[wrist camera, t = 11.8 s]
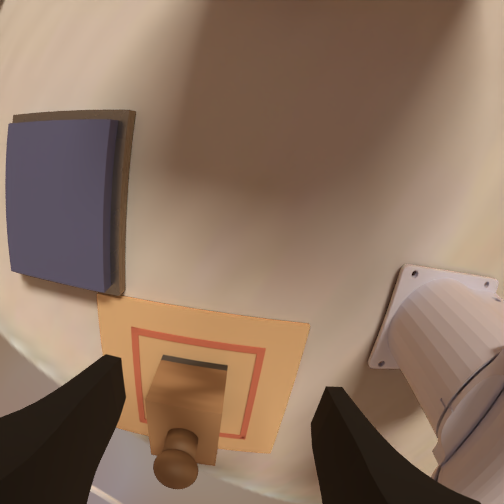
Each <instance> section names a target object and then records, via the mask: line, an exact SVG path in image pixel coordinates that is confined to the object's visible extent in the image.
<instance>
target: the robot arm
mask: <svg viewBox="0 0 504 504" xmlns="http://www.w3.org/2000/svg"><path fill="white" fill-rule="evenodd" d="M413 271H416V273H415V275H413V276H412V272H413ZM485 283H486V284H485ZM484 284H485V285H484ZM498 284H499V283H498V280H497V279H495V278H491V277H485V276H479V275H473V274H467V273H461V272H455V271H449V270H443V269H436V268H430V267H424V266H418V265H412V264H406V265H404V266H403V267H402V268H401V270H400V272H399V276H398V279H397V282H396V285H395V288H394V291H393V295H392V298H391V301H390V303H389V306H388V309H387V312H386V315H385V318H384V321H383V323H382V326H381V329H380V331H379V334H378V337H377V339H376V342H375V345H374V347H373V350H372V352H371V355H370V357H369V360H368V365H369V367H370V368H372V369H401V371H402V373H403V374H404V376H405V378H406V380H407V382H408V383H409V385H410V387H411V389H412V391H413V393H414V394H415V396H416V398H417V400H418V402H419V404H420V405H421V407H422V409H423V411H424V413H425V415H426V417H427V419H428V421H429V423H430V425H431V426H432V428H433V430H434V432H435V434H436V436H437V438H438V442H437V445H436V446H435V448H434V449H433V451H432V452H433V454H434V456H435V458H436V460H437V462H438V465H439V466H437V468H436V469H435V471H434V472H433V474H432V476H431V477H429V476H428V475H426V474H425V473H423V472H422V471H420V470H419V469H418V468H416V467H415V466H414V465H412V464H411V463H410V462H409V461H408V460H407V459H405V458H404V457H403V456H402V455H401V454H400V453H398V452H397V451H396V450H395V449H394V448H393V447H392V446H391V445H390V444H389V443H388V442H387V441H386V440H385V439H384V438H383V437H382V436H381V434H380V433H379V432H378V431H377V430H376V429H375V428H374V427H373V425H372V424H371V423H370V422H369V421H368V419H367V418H366V417H365V416H364V415H363V413H362V412H361V411H360V410H359V408H358V407H357V406H356V404H355V403H354V402H353V401H352V399H351V398H350V397H349V395H348V394H347V393H346V392H345V390H344V389H343V388H342V387H326V388H325V390H324V393H323V395H322V398H321V400H320V403H319V405H318V408H317V410H316V412H315V415H314V417H313V420H312V422H311V436H312V449H313V454H314V459H315V465H316V470H317V475H318V480H319V485H320V491H321V496H322V503H323V504H504V300H503V299H502V298H501V297H499V296H498V295H497V294H495V293H496V291H497V288H498ZM381 361H382V362H381ZM379 362H381V363H379ZM125 400H126V393H125V385H124V377H123V369H122V360H121V358H120V357H116V356H112V355H108V354H105V355H104V356H102V357H101V358H100V359H98V360H97V361H96V362H94V363H93V364H92V365H90V366H89V367H88V368H86V369H85V370H84V371H82V372H81V373H80V374H78V375H77V376H75V377H74V378H73V379H71V380H70V381H68V382H67V383H66V384H64V385H63V386H61V387H60V388H58V389H57V390H55V391H54V392H52V393H50V394H49V395H47V396H46V397H44V398H42V399H40V400H39V401H37V402H35V403H33V404H31V405H29V406H27V407H25V408H23V409H21V410H19V411H16V412H14V413H11V414H9V415H6V416H3V417H1V418H0V504H87V500H88V496H89V492H90V489H91V485H92V482H93V478H94V475H95V472H96V470H97V467H98V465H99V463H100V460H101V458H102V456H103V454H104V452H105V450H106V447H107V445H108V443H109V441H110V439H111V437H112V435H113V432H114V430H115V428H116V426H117V424H118V421H119V419H120V416H121V413H122V410H123V406H124V403H125Z"/></svg>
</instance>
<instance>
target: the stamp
mask: <svg viewBox="0 0 504 504" xmlns="http://www.w3.org/2000/svg"><path fill="white" fill-rule="evenodd" d="M227 369H228V365H223V364H216V363H209V362H203V361H196V360H190V359H185V358H179V357H174V356H168V355H163V356H162V358H161V361H160V363H159V366H158V368H157V371H156V373H155V376H154V378H153V381H152V383H151V386H150V388H149V391H148V393H147V396H146V399H145V406H146V416H147V424H148V433H149V440H150V448H151V454H152V455H157V458H156V459H155V461H154V466H153V469H154V473H155V476H156V478H157V479H158V480H159V482H161V483H162V484H163V485H165V486H166V487H169V488H173V489H183V488H186V487H188V486H190V485H191V484H193V483H194V482H195V480H196V478H197V475H198V466H197V463H199V464H205V465H213V466H215V462H216V455H217V448H218V441H219V434H220V427H221V419H222V412H223V403H224V395H225V386H226V378H227Z"/></svg>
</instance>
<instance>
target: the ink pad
mask: <svg viewBox="0 0 504 504" xmlns="http://www.w3.org/2000/svg"><path fill="white" fill-rule="evenodd" d="M135 115H136V112H135V111H131V110H76V111H56V112H41V113H30V114H20V115H13V123H10V124H9V126H8V137H7V151H6V220H7V235H8V246H9V255H10V264H11V271H13V272H16V273H20V274H24V275H28V276H32V277H36V278H40V279H44V280H48V281H52V282H56V283H61V284H65V285H69V286H74V287H78V288H83V289H87V290H92V291H97V292H101V293H106V294H111V295H116V296H120V295H121V294H122V293H123V292H124V291H125V238H126V211H127V193H128V179H129V168H130V157H131V147H132V138H133V130H134V122H135Z"/></svg>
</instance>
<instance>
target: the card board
mask: <svg viewBox="0 0 504 504" xmlns="http://www.w3.org/2000/svg"><path fill="white" fill-rule="evenodd" d="M97 306H98V317H99V327H100V336H101V344H102V352H103V356H104V355H105V354H108V355H112V356H116V357H120V358H121V360H122V369H123V377H124V385H125V393H126V400H125V403H124V406H123V410H122V413H121V416H120V419H119V421H118V424H117V426H116V428H119V429H123V430H127V431H131V432H135V433H139V434H143V435H147V436H149V433H148V424H147V416H146V406H145V399H146V396H147V393H148V391H149V388H150V386H151V383H152V381H153V378H154V376H155V373H156V371H157V368H158V366H159V363H160V361H161V358H162V356H163V355H168V356H174V357H179V358H185V359H190V360H196V361H203V362H209V363H216V364H223V365H228V369H227V378H226V386H225V395H224V403H223V412H222V419H221V427H220V434H219V441H218V449H226V450H235V451H245V452H256V453H271V450H272V447H273V444H274V441H275V439H276V436H277V433H278V430H279V427H280V424H281V421H282V418H283V415H284V412H285V409H286V406H287V403H288V400H289V397H290V394H291V390H292V387H293V384H294V381H295V378H296V374H297V371H298V368H299V364H300V361H301V357H302V354H303V351H304V347H305V344H306V340H307V337H308V333H309V329H310V325H309V324H308V323H299V322H290V321H281V320H273V319H265V318H257V317H249V316H242V315H235V314H228V313H221V312H214V311H207V310H201V309H195V308H188V307H182V306H176V305H170V304H165V303H159V302H153V301H148V300H142V299H137V298H132V297H127V296H122V295H120V296H116V295H111V294H106V293H101V292H98V293H97Z"/></svg>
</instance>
